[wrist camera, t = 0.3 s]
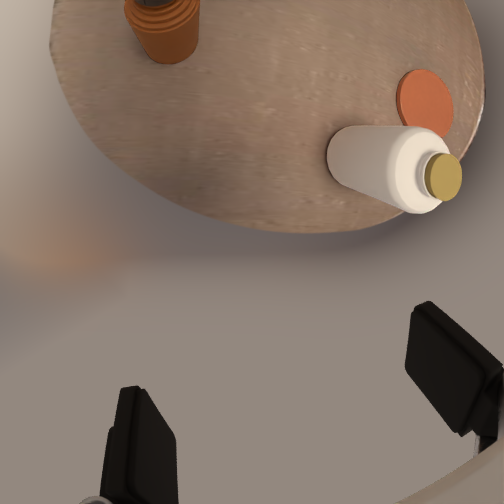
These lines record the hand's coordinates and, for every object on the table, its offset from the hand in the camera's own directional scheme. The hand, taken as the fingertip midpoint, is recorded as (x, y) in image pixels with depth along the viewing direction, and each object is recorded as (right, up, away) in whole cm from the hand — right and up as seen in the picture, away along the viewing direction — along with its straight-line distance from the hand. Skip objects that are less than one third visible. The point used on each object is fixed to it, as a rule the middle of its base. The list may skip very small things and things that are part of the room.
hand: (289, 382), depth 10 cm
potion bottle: (+12, +17, +29) cm, 36 cm away
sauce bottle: (-11, +29, +20) cm, 37 cm away
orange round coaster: (+24, +26, +28) cm, 45 cm away
